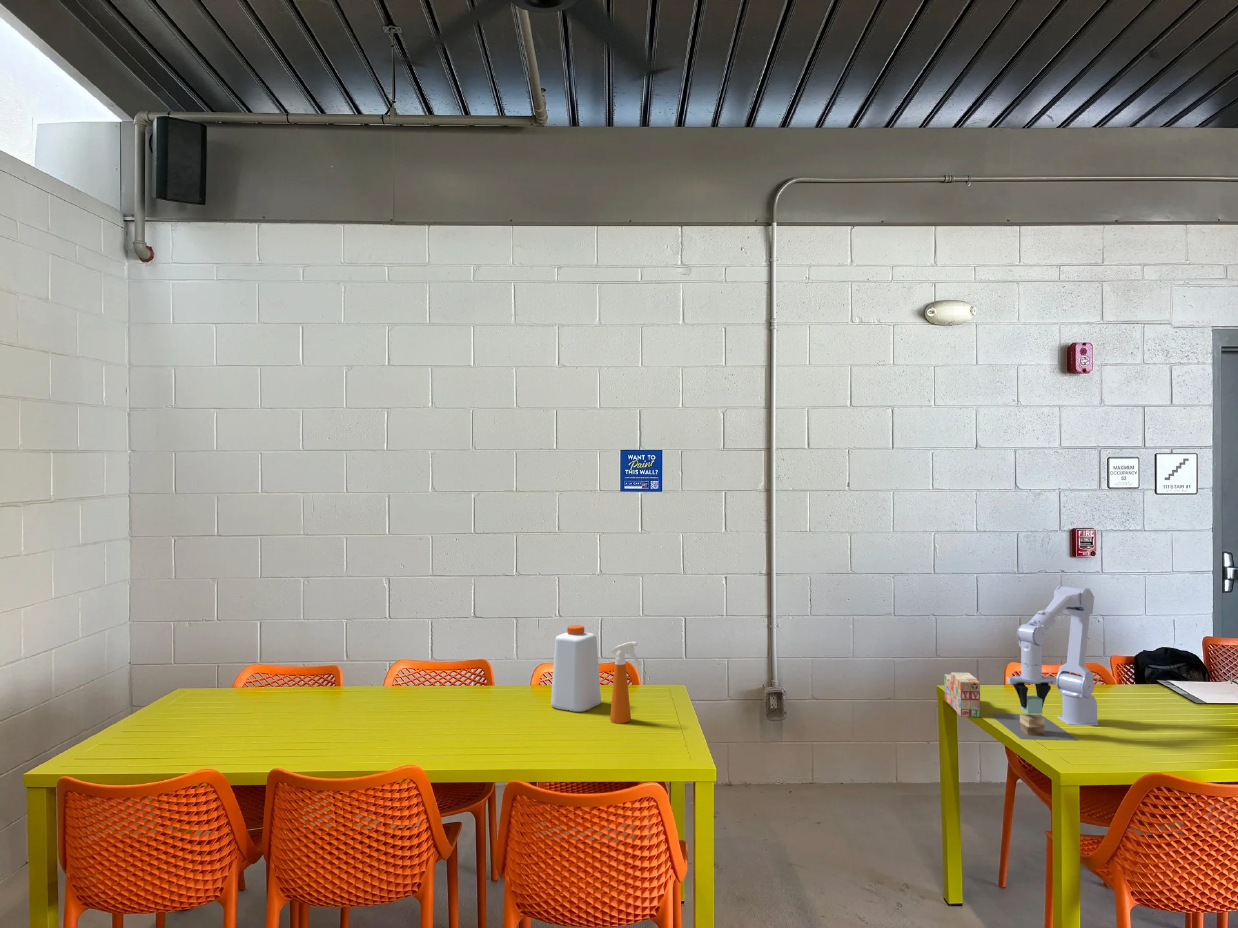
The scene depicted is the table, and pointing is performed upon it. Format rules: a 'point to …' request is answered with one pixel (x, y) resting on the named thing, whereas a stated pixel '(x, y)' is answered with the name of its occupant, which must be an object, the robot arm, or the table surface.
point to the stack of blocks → (963, 693)
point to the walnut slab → (1032, 730)
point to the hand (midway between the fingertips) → (1031, 706)
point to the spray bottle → (621, 684)
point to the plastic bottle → (575, 671)
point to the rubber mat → (1049, 734)
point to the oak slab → (1032, 720)
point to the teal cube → (1033, 705)
